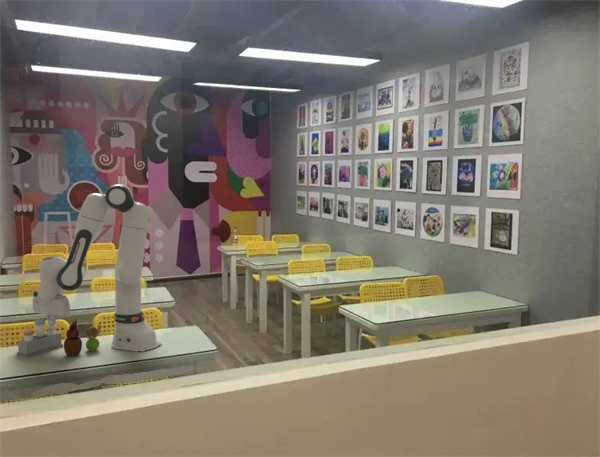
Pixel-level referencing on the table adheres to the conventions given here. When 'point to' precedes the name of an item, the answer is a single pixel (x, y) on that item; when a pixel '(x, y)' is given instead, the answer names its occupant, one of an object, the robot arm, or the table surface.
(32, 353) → the socket board
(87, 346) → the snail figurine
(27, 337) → the terracotta plug
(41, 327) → the slate plug
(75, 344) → the wooden figurine
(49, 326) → the cream plug
